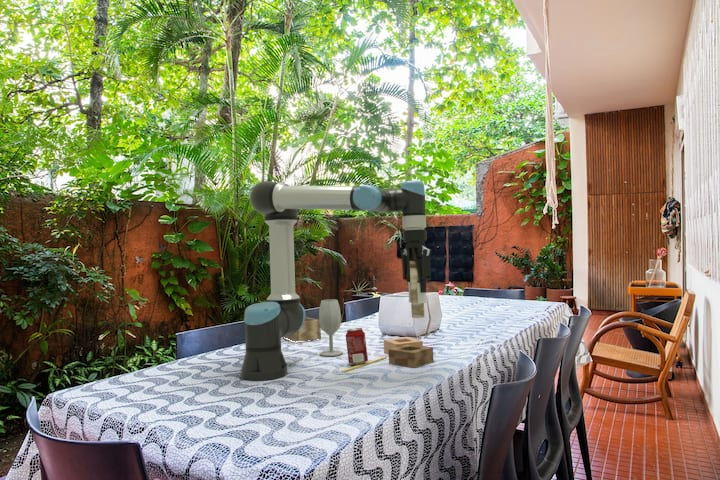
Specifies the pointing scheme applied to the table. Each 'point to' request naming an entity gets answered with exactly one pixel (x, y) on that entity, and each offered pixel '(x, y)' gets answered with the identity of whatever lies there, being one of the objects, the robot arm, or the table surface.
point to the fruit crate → (307, 331)
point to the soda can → (356, 346)
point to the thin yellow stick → (363, 364)
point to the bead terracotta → (400, 343)
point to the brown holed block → (411, 355)
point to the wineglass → (330, 323)
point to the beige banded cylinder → (415, 293)
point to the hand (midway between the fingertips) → (417, 302)
